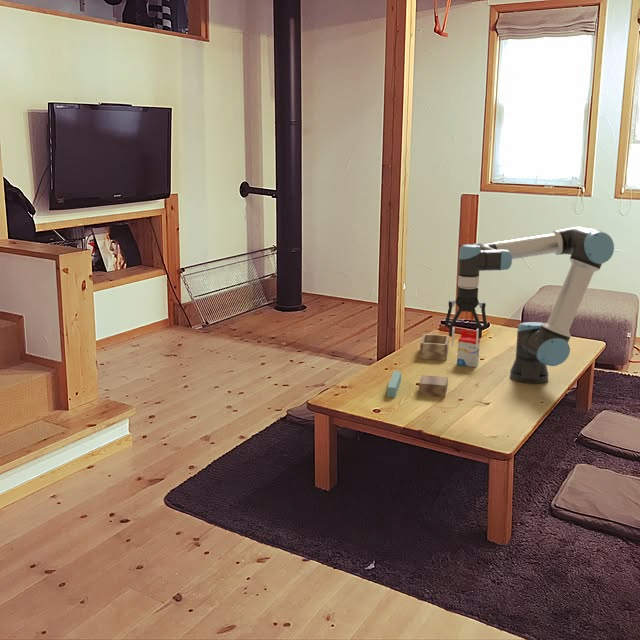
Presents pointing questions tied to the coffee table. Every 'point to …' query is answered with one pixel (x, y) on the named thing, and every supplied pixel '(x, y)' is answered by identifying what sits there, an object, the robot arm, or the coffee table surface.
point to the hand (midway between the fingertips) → (464, 345)
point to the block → (433, 386)
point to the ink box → (468, 349)
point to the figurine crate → (434, 347)
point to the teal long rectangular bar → (394, 384)
